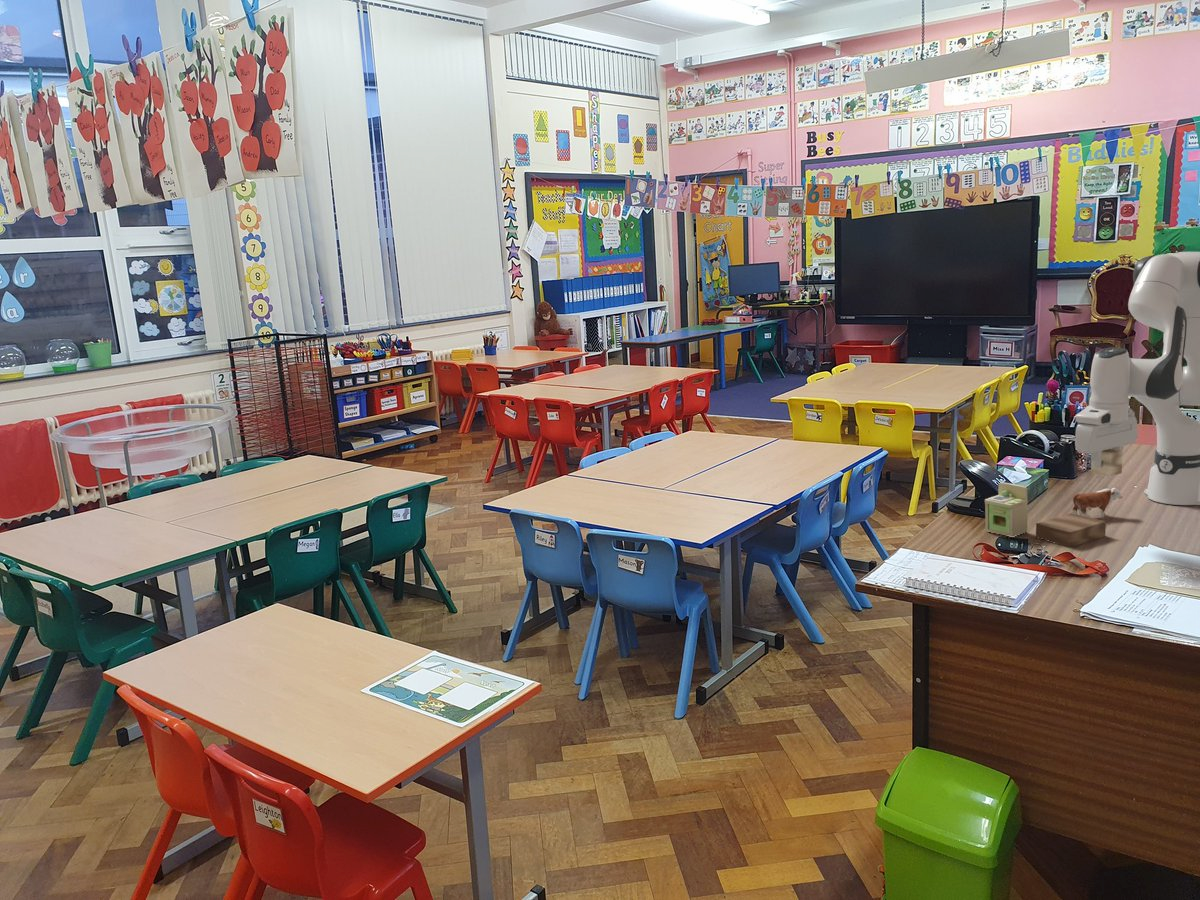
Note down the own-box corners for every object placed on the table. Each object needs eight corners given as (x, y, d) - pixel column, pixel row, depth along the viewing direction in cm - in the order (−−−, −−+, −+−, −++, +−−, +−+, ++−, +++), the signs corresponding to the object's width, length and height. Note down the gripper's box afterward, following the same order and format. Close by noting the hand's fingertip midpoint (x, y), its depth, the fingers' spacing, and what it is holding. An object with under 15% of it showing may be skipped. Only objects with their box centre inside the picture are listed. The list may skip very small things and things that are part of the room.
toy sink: (983, 532, 247) (983, 486, 244) (999, 526, 251) (1000, 481, 248) (1010, 539, 240) (1011, 492, 237) (1027, 532, 244) (1028, 486, 241)
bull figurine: (1124, 516, 250) (1125, 488, 248) (1075, 520, 250) (1076, 492, 249) (1115, 512, 254) (1116, 484, 252) (1067, 516, 255) (1068, 488, 253)
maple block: (1103, 470, 234) (1104, 447, 233) (1121, 473, 230) (1122, 450, 228) (1090, 473, 232) (1091, 450, 231) (1109, 476, 228) (1110, 453, 226)
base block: (1071, 527, 245) (1071, 513, 244) (1105, 535, 236) (1105, 521, 235) (1035, 537, 239) (1036, 523, 238) (1069, 547, 230) (1070, 532, 230)
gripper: (1122, 405, 235) (1119, 456, 238) (1071, 416, 226) (1069, 469, 229) (1146, 408, 229) (1143, 460, 232) (1094, 419, 220) (1092, 473, 223)
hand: (1106, 465), depth 230 cm, fingers closed on maple block, 5 cm apart
